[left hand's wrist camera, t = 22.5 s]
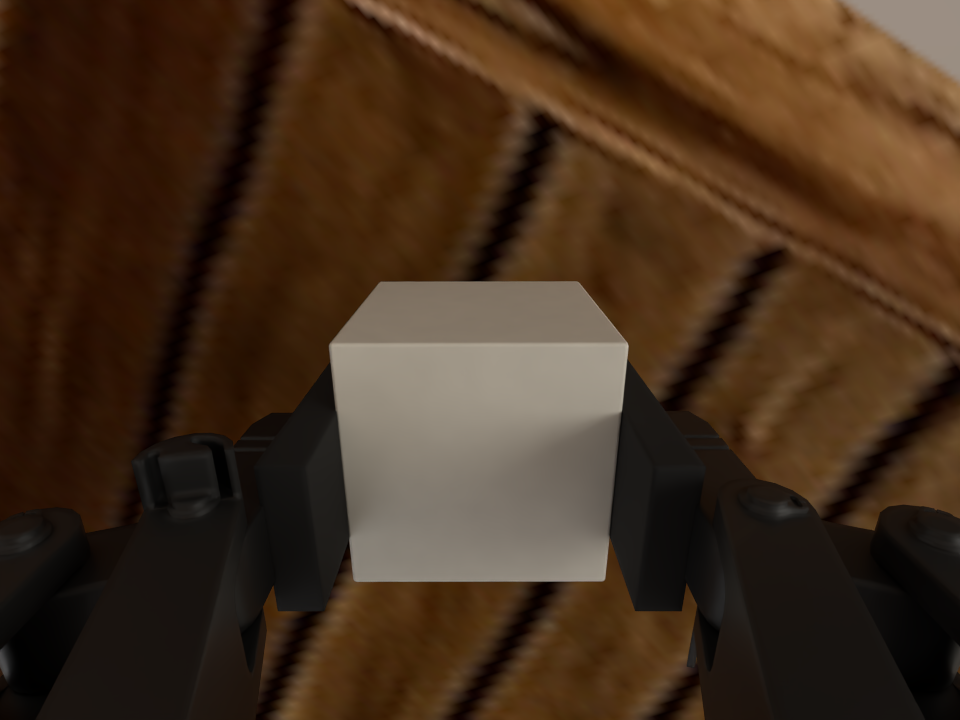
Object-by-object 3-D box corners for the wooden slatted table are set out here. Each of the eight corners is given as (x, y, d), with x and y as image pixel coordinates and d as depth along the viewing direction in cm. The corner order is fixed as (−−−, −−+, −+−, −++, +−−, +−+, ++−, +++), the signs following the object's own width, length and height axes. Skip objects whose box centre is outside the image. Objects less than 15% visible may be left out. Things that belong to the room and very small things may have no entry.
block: (579, 280, 14) (630, 343, 9) (568, 455, 15) (606, 583, 11) (379, 281, 14) (327, 343, 9) (391, 456, 15) (353, 583, 11)
